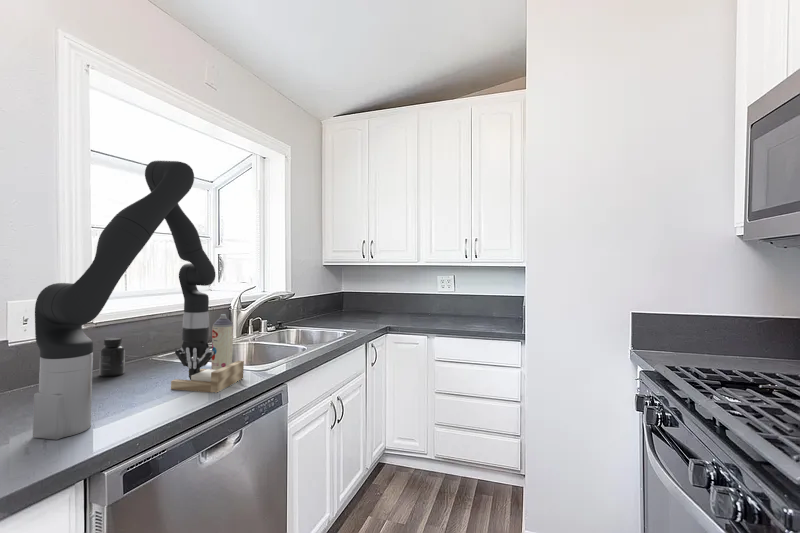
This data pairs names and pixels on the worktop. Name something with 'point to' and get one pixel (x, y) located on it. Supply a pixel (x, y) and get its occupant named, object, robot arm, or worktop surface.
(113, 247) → the robot arm
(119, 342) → the supplement bottle
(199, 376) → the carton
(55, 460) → the worktop surface
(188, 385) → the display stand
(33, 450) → the worktop surface
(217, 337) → the aerosol can
